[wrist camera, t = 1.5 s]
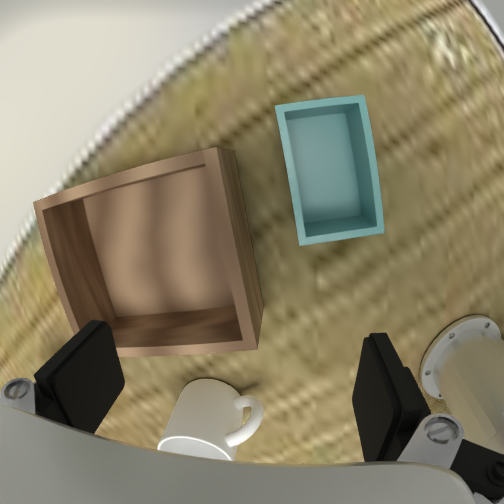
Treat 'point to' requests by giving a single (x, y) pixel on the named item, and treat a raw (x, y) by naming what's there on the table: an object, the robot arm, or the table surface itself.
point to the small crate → (331, 168)
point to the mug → (210, 421)
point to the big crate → (158, 256)
